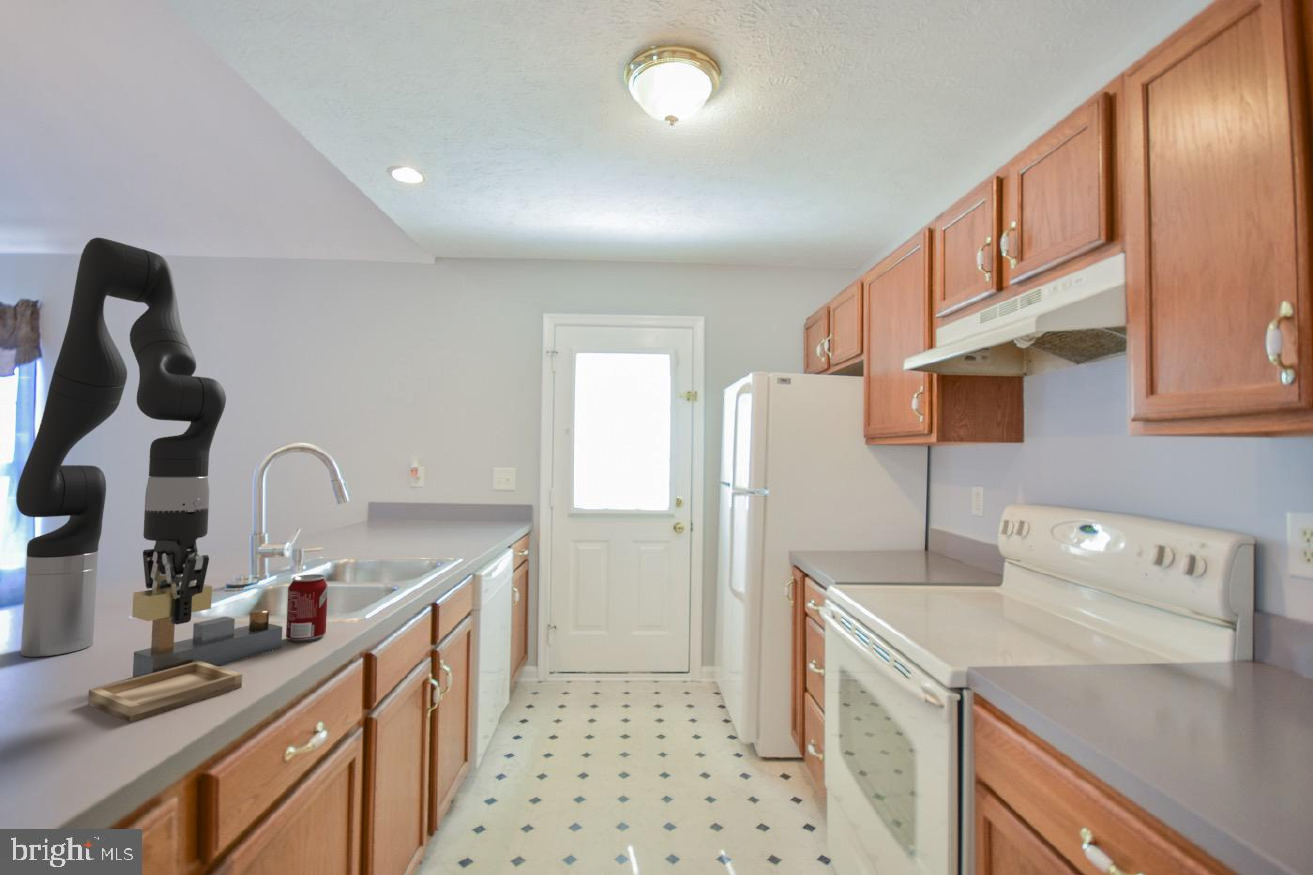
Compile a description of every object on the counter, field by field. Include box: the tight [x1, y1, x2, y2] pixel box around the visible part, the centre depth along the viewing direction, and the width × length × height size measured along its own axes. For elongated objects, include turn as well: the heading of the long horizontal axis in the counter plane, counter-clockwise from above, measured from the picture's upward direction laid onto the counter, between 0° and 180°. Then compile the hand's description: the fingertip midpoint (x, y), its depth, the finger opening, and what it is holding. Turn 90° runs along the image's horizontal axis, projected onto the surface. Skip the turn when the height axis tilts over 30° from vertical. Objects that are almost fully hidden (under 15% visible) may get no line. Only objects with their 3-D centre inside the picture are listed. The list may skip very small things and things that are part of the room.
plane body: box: [132, 608, 283, 678], centre depth 103 cm, size 20×6×10 cm, turn 154°
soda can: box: [285, 573, 329, 643], centre depth 117 cm, size 7×7×12 cm
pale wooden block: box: [132, 582, 213, 622], centre depth 89 cm, size 4×8×4 cm, turn 154°
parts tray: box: [87, 661, 243, 723], centre depth 88 cm, size 12×14×2 cm
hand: (172, 620), depth 89 cm, fingers closed on pale wooden block, 4 cm apart
